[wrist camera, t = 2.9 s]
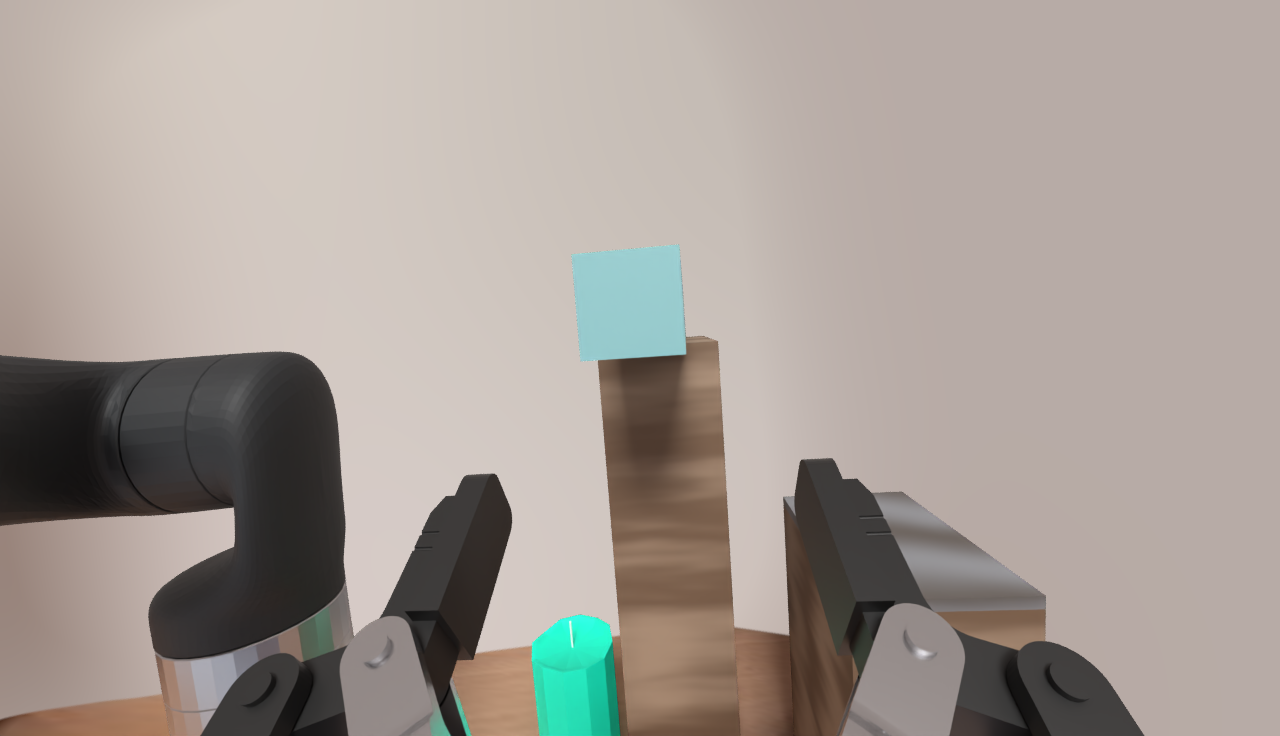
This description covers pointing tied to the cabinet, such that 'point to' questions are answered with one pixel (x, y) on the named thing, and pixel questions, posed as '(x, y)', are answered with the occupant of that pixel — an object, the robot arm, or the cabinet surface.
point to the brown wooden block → (948, 580)
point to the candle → (576, 679)
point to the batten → (629, 303)
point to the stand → (671, 541)
